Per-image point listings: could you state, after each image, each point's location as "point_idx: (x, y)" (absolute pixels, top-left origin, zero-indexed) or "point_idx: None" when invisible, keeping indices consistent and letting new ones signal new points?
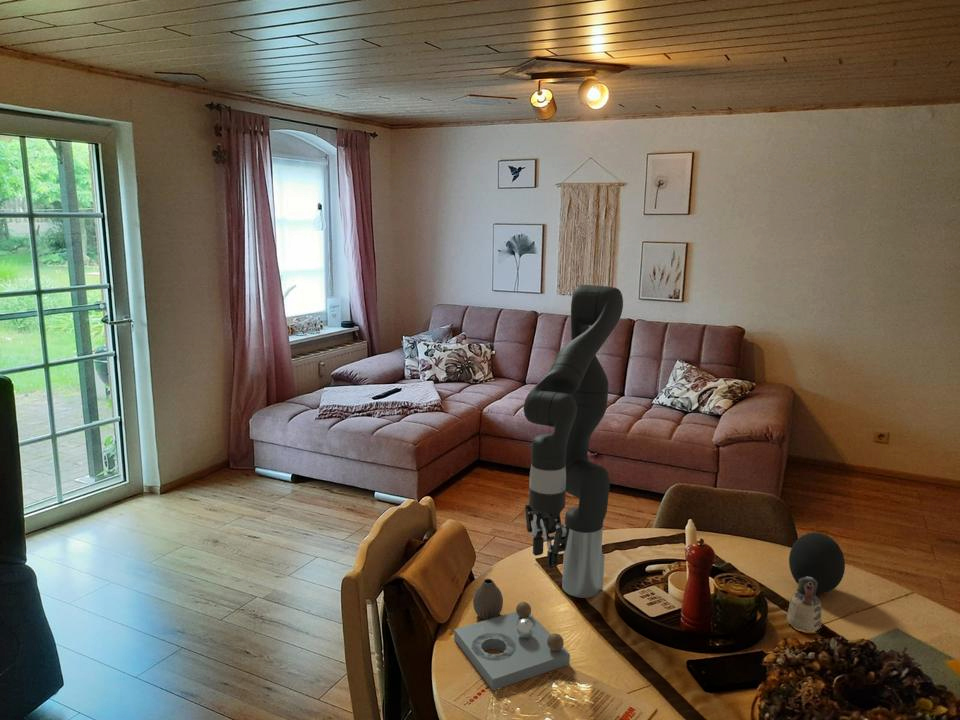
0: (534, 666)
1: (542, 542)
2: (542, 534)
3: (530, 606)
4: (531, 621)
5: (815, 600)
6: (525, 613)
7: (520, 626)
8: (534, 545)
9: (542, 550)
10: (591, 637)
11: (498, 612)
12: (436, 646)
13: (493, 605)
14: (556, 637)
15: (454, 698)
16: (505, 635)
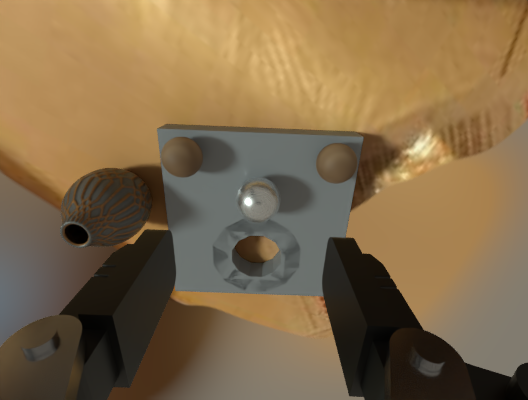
0: (347, 221)
1: (134, 291)
2: (82, 366)
3: (184, 141)
4: (260, 190)
5: None
6: (201, 164)
7: (263, 221)
8: (146, 339)
9: (162, 245)
10: (308, 10)
11: (147, 192)
12: (188, 304)
13: (142, 216)
14: (347, 171)
15: (312, 326)
16: (235, 222)
